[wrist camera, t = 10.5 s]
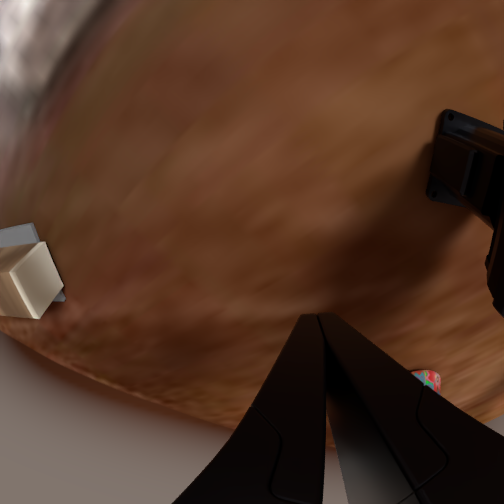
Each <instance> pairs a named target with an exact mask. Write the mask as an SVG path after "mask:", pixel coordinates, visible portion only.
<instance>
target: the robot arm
mask: <svg viewBox="0 0 504 504" xmlns="http://www.w3.org/2000/svg"><path fill="white" fill-rule="evenodd" d="M448 114H450V115H451V118H450V119H448ZM503 130H504V120H503ZM503 130H501V129H499V128H497V127H494V126H492V125H490V124H487V123H485V122H483V121H480V120H478V119H475V118H473V117H470V116H467V115H465V114H462V113H459V112H457V111H454V110H451V109H445V110H444V111H443V113H442V117H441V123H440V129H439V135H438V137H437V139H436V144H435V149H434V154H433V159H432V163H431V168H430V172H431V173H430V177H429V181H428V185H427V189H426V196H427V197H428V198H429V199H430V200H432V201H436V202H441V203H446V204H452V205H457V206H462V207H466V208H468V209H469V210H470V211H472V212H473V213H474V214H475V215H476V216H478V217H479V218H480V219H481V220H482V221H483V222H484V223H486V224H487V225H488V226H489V227H490V228H491V229H492V230H494V232H493V236H492V241H491V246H490V250H489V254H488V255H487V256H486V260H485V266H486V269H487V285H488V288H489V290H490V292H491V294H492V297H493V298H494V300H493V306H494V308H495V309H496V310H497V311H498V312H499V314H500V315H501V316H502V317H503V318H504V131H503ZM433 191H435V193H434V195H431V193H432V192H433ZM326 410H327V414H328V418H329V422H330V426H331V430H332V434H333V439H334V443H335V447H336V451H337V455H338V459H339V464H340V468H341V472H342V476H343V481H344V485H345V489H346V494H347V499H348V503H349V504H504V436H502V435H500V434H499V433H497V432H495V431H494V430H492V429H490V428H489V427H487V426H485V425H484V424H482V423H481V422H479V421H477V420H476V419H474V418H473V417H471V416H470V415H468V414H466V413H465V412H463V411H462V410H460V409H459V408H457V407H456V406H454V405H453V404H452V403H450V402H449V401H448V400H446V399H445V398H444V397H442V396H441V395H439V394H438V393H437V392H436V391H434V390H433V389H432V388H430V387H429V386H428V385H424V383H423V382H422V381H421V380H419V379H418V378H417V377H416V376H414V375H413V374H412V373H410V372H409V371H408V370H407V369H405V368H404V367H403V366H401V365H400V364H399V363H398V362H396V361H395V360H394V359H393V358H391V357H390V356H389V355H387V354H386V353H385V352H384V351H382V350H381V349H380V348H378V347H377V346H376V345H375V344H373V343H372V342H371V341H370V340H368V339H367V338H366V337H364V336H363V335H362V334H361V333H359V332H358V331H357V330H355V329H354V328H353V327H352V326H350V325H349V324H348V323H347V322H345V321H344V320H343V319H341V318H340V317H339V316H338V315H336V314H335V313H333V312H324V313H318V314H317V315H316V314H314V313H313V314H302V315H300V317H299V318H298V320H297V322H296V324H295V326H294V328H293V330H292V332H291V334H290V336H289V338H288V339H287V341H286V343H285V345H284V347H283V349H282V351H281V353H280V354H279V356H278V358H277V360H276V362H275V364H274V365H273V367H272V369H271V371H270V373H269V374H268V376H267V378H266V380H265V382H264V383H263V385H262V387H261V389H260V390H259V392H258V394H257V396H256V397H255V399H254V401H253V403H252V404H251V407H249V409H248V410H247V412H246V414H245V415H244V417H243V419H242V420H241V422H240V423H239V425H238V426H237V428H236V429H235V431H234V432H233V434H232V435H231V437H230V439H229V440H228V441H227V442H226V443H225V445H224V446H223V447H222V449H221V450H220V451H219V452H218V454H217V455H216V456H215V457H214V458H213V460H212V461H211V462H210V463H209V464H208V465H207V466H206V467H205V469H204V470H203V471H202V472H201V473H200V474H199V475H198V476H197V477H196V478H195V480H194V481H193V482H192V483H191V484H190V485H189V486H188V487H187V488H186V489H185V490H184V491H183V492H182V493H181V495H179V497H178V498H177V499H176V500H175V501H174V502H173V503H172V504H322V501H323V487H324V486H323V485H324V469H325V444H326Z"/></svg>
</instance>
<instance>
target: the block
mask: <svg viewBox="0 0 504 504" xmlns="http://www.w3.org/2000/svg"><path fill="white" fill-rule="evenodd" d="M63 286H64V285H63V283H62V281H61V279H60V277H59V274H58V272H57V270H56V267H55V265H54V263H53V260H52V258H51V256H50V253H49V251H48V248H47V246H46V243H45V242H39V243H31V244H23V245H16V246H9V247H2V248H0V315H3V316H13V317H23V318H35V319H40V317H41V316H42V315H43V313H44V312H45V310H46V309H47V308H48V306H49V305H50V304H51V302H52V301H53V299H54V298H55V297H56V295H57V294H58V293H59V291H60V290H61V289H62V288H63Z"/></svg>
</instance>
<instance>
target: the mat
mask: <svg viewBox="0 0 504 504" xmlns="http://www.w3.org/2000/svg"><path fill="white" fill-rule="evenodd" d="M39 242H40V240H39V237H38V235H37V232H36V230H35V227H34V224H33V223H28V224H23V225H19V226H14V227H9V228H5V229H0V248H2V247H9V246H16V245H23V244H31V243H39ZM65 299H66V298H65V296H64V294H63V292H62V290H60V291H59V293H58V294H57V295H56V297H55V298H54V299H53V301H65Z"/></svg>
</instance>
